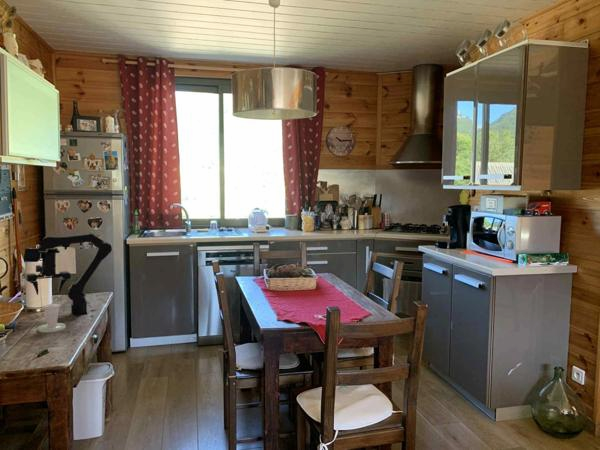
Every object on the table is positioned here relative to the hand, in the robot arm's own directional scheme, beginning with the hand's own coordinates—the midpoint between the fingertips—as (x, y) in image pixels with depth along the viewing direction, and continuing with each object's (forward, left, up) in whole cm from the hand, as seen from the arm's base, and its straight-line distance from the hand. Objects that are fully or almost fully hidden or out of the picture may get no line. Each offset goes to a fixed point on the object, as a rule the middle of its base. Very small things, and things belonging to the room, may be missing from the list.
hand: (48, 293), depth 227 cm
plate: (+1, +22, -11) cm, 24 cm away
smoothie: (+1, +22, -10) cm, 24 cm away
